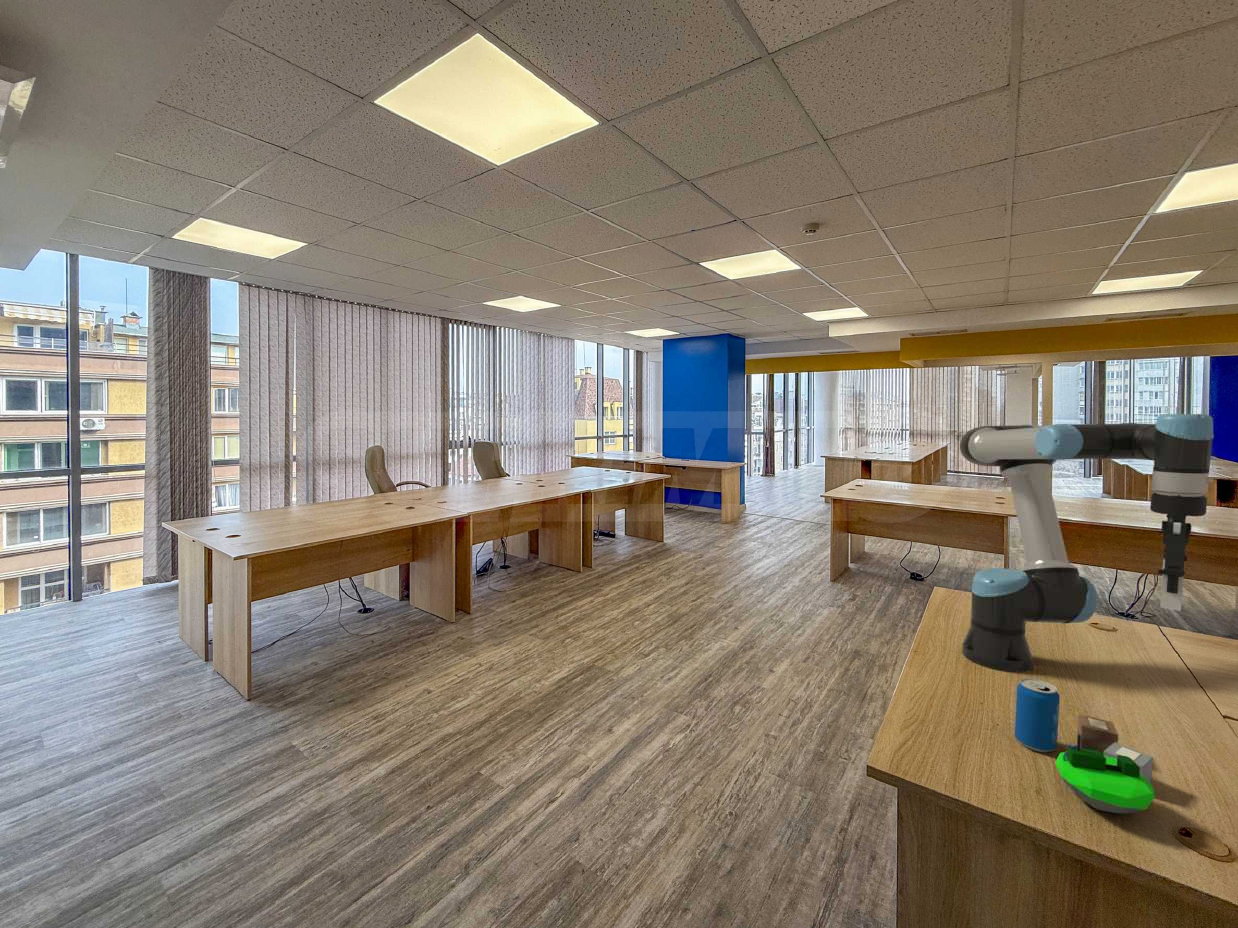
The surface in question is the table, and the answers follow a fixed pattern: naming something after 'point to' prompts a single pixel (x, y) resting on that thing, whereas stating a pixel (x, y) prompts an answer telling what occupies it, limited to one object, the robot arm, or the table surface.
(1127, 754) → the slate block
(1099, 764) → the green toy boat
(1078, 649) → the table surface
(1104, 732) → the walnut block
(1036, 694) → the beverage can
